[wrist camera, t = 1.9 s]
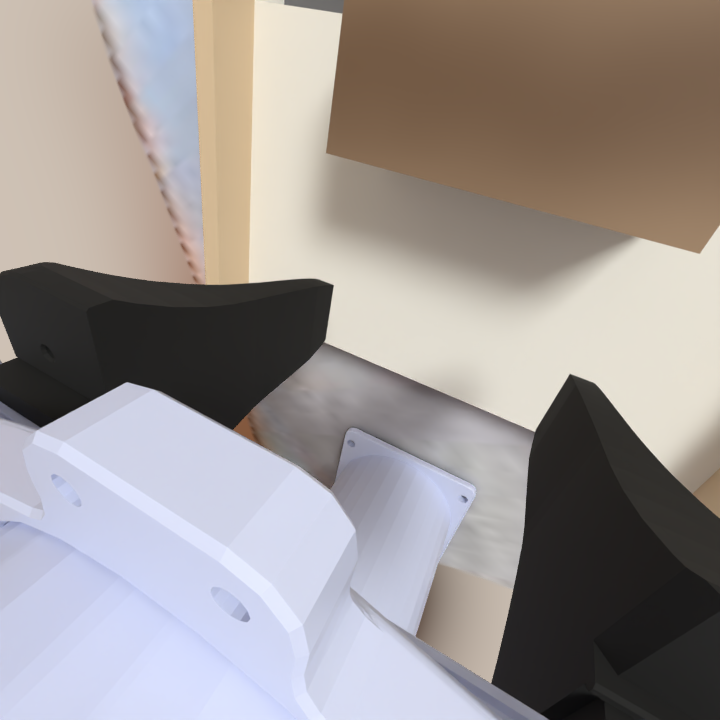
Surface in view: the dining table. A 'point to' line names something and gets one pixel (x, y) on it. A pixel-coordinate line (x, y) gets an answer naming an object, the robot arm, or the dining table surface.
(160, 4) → the dining table surface
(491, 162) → the walnut block
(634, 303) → the shallow cream tray
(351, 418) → the dining table surface
